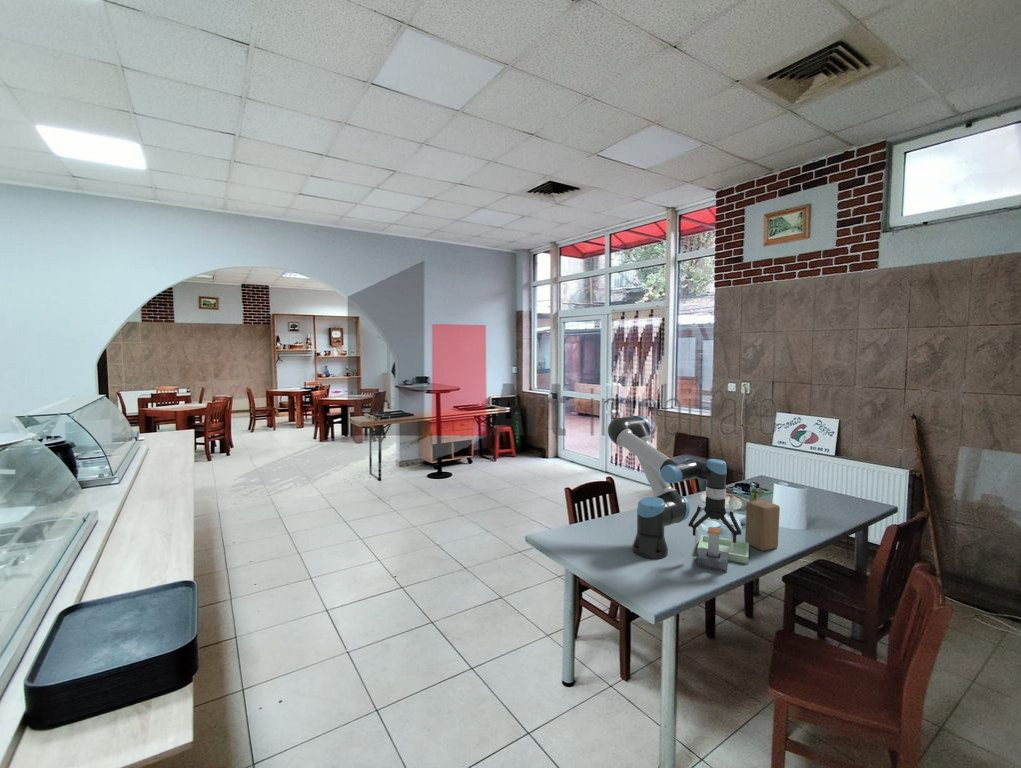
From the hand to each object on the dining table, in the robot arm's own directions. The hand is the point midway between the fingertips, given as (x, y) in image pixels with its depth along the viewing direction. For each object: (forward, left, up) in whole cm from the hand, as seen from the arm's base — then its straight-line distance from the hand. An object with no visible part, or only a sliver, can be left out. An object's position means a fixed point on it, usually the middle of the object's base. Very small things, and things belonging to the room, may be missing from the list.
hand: (713, 546), depth 196 cm
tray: (+3, +15, -8) cm, 17 cm away
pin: (0, 0, -8) cm, 8 cm away
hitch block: (0, 0, -8) cm, 8 cm away
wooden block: (+18, +30, -8) cm, 36 cm away
